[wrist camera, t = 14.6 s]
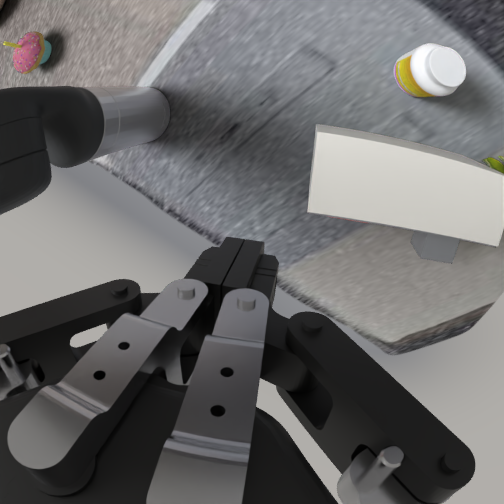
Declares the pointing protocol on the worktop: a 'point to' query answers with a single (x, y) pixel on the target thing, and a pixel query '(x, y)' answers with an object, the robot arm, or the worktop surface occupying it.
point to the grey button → (434, 247)
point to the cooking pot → (2, 3)
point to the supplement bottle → (430, 71)
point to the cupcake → (30, 52)
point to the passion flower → (495, 163)
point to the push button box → (404, 186)
